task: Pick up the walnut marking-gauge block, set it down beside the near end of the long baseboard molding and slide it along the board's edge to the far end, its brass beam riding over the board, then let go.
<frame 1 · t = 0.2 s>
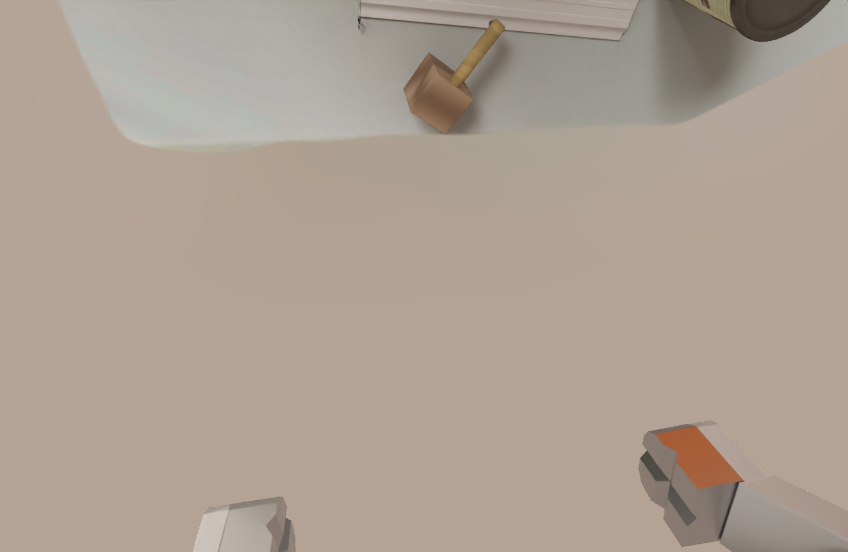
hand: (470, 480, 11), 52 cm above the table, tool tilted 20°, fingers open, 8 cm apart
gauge: (432, 82, 58), on the table
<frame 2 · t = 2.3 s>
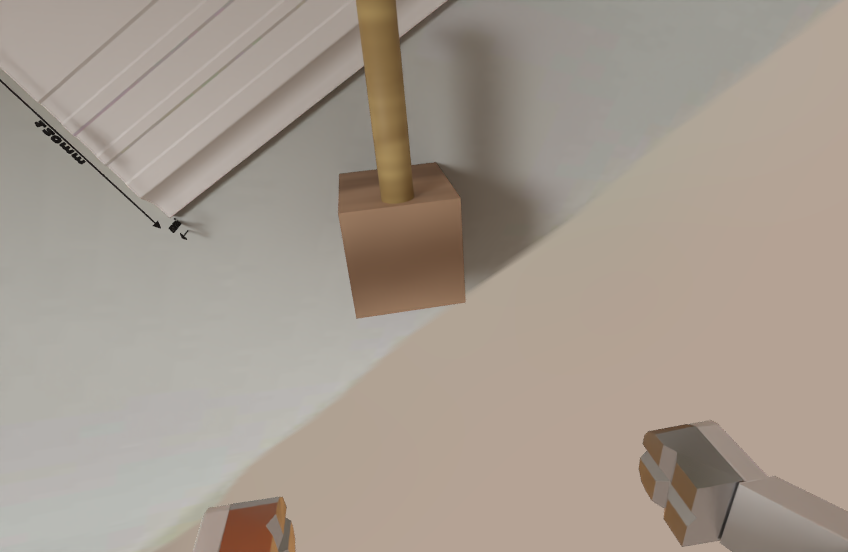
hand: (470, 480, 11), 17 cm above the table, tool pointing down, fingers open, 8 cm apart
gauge: (393, 213, 26), on the table
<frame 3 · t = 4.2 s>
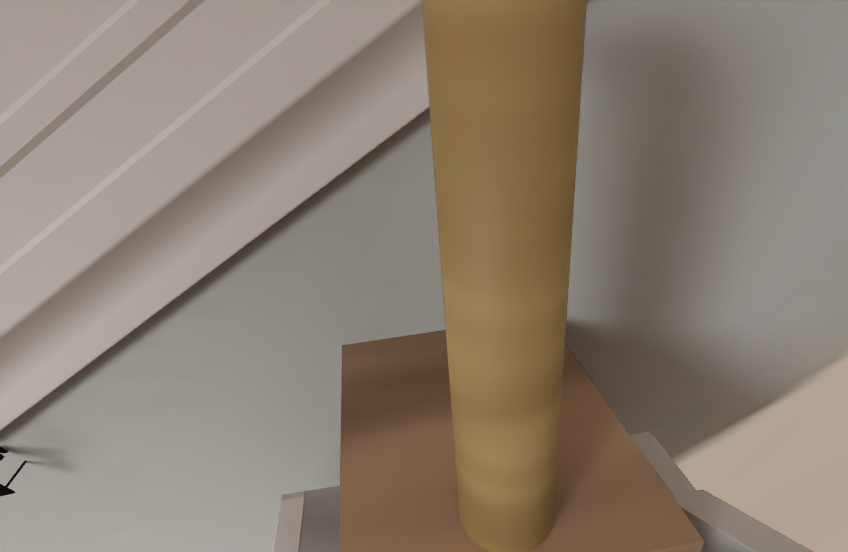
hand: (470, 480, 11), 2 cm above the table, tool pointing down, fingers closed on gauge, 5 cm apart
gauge: (451, 407, 13), on the table, touching gripper
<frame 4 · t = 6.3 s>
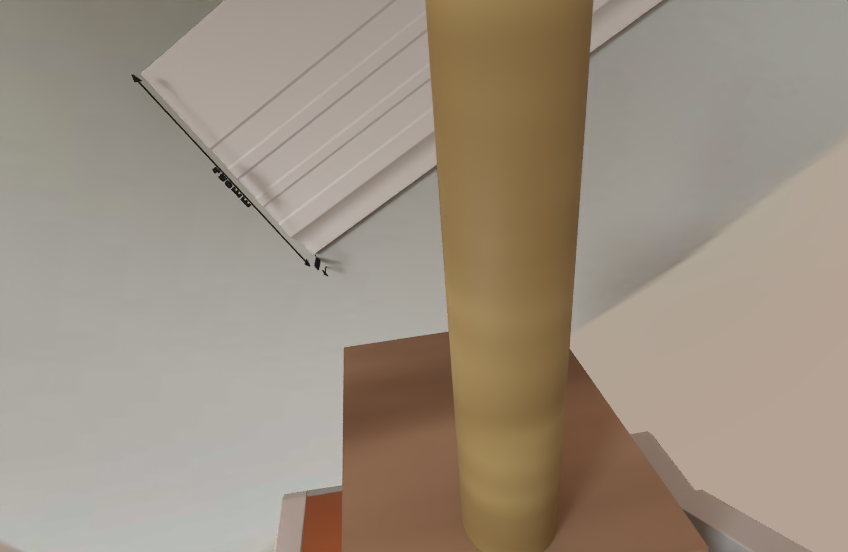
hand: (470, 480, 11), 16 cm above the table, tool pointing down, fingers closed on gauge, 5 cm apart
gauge: (453, 410, 13), point 14 cm above the table, touching gripper
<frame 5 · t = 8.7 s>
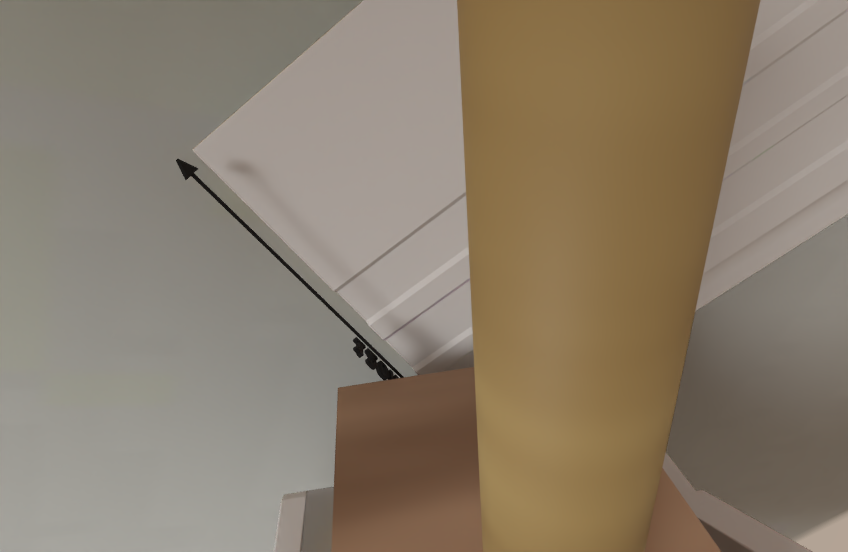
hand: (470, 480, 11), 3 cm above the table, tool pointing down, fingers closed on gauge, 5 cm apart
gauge: (466, 455, 11), point 2 cm above the table, touching gripper
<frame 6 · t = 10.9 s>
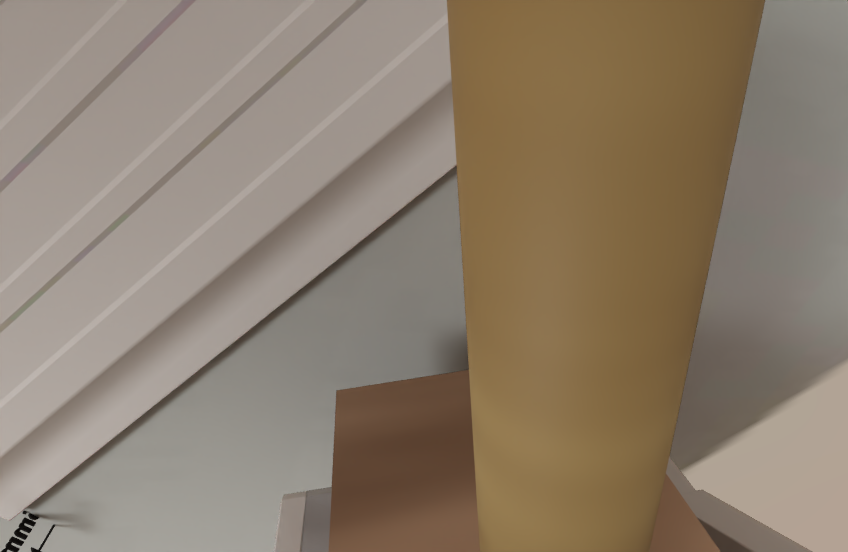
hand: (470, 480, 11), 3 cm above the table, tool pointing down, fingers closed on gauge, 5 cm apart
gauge: (467, 458, 11), point 3 cm above the table, touching gripper
when the fingers open (3 cm above the table, at t = 13.3 s): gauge drops 2 cm, on the table.
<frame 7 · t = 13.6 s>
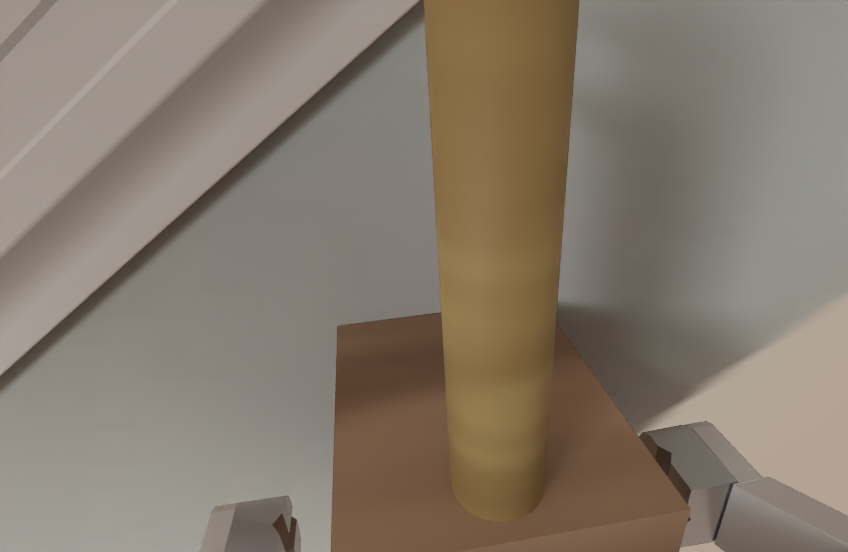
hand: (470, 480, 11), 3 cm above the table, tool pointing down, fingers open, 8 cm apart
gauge: (444, 391, 13), on the table
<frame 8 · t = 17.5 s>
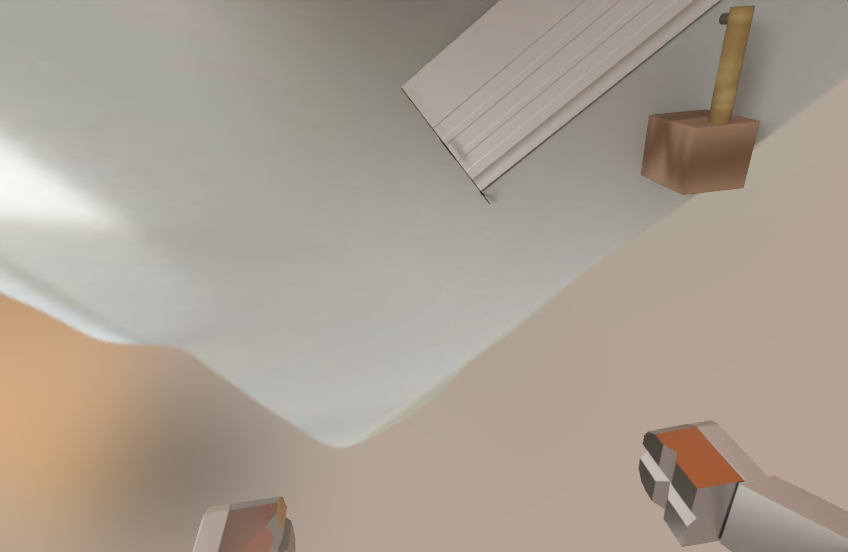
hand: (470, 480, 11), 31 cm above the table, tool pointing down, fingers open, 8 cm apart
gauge: (672, 142, 41), on the table
baseboard molding: (605, 13, 37), on the table
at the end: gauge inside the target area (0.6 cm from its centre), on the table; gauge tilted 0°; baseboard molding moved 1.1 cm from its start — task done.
